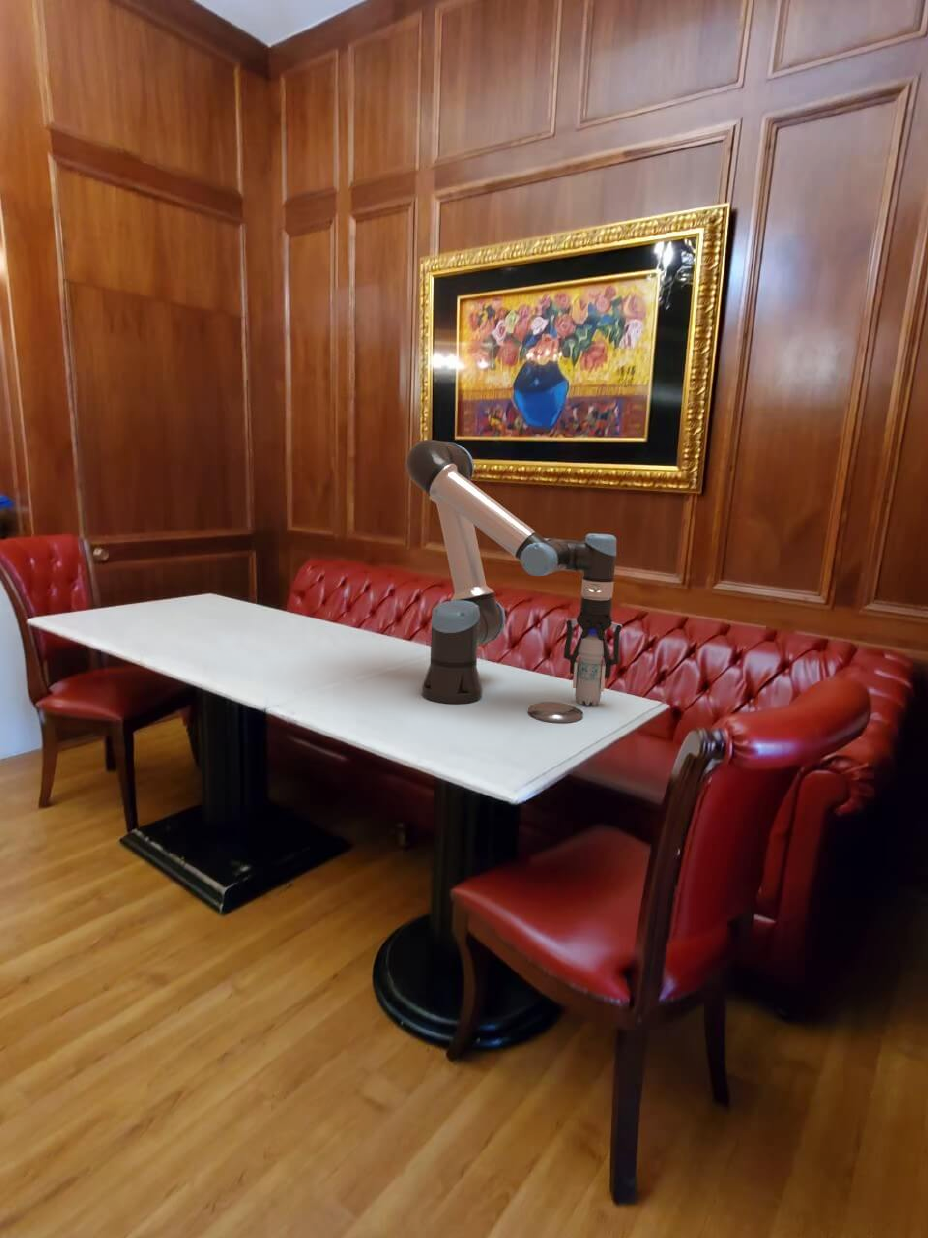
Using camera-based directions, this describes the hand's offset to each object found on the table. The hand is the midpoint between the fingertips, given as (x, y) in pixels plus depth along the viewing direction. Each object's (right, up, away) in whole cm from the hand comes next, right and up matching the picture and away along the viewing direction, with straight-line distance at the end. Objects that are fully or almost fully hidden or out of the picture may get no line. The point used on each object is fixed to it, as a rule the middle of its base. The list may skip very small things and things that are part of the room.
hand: (588, 688), depth 175 cm
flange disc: (-10, -5, -9) cm, 14 cm away
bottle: (0, -4, +1) cm, 4 cm away
